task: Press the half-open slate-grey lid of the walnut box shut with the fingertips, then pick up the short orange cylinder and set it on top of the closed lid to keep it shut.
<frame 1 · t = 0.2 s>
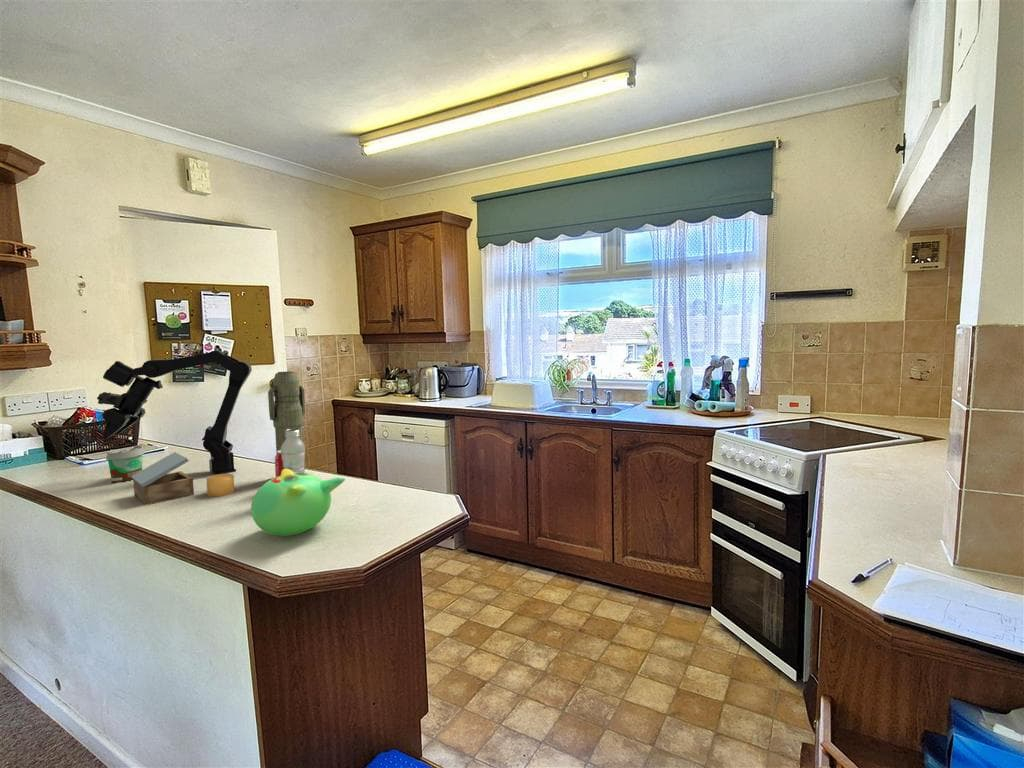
hand: (110, 436, 162), 15 cm above the table, tool tilted 30°, fingers open, 9 cm apart
walnut box: (164, 495, 148), on the table
plastic bottle: (295, 499, 143), on the table
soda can: (289, 489, 153), on the table
headless coat mannequin: (291, 478, 165), on the table
green toy creature: (295, 532, 119), on the table
food container: (132, 479, 166), on the table
lid: (159, 468, 147), point 8 cm above the table, hinge at 25.0°
short orange cylinder: (221, 493, 150), on the table
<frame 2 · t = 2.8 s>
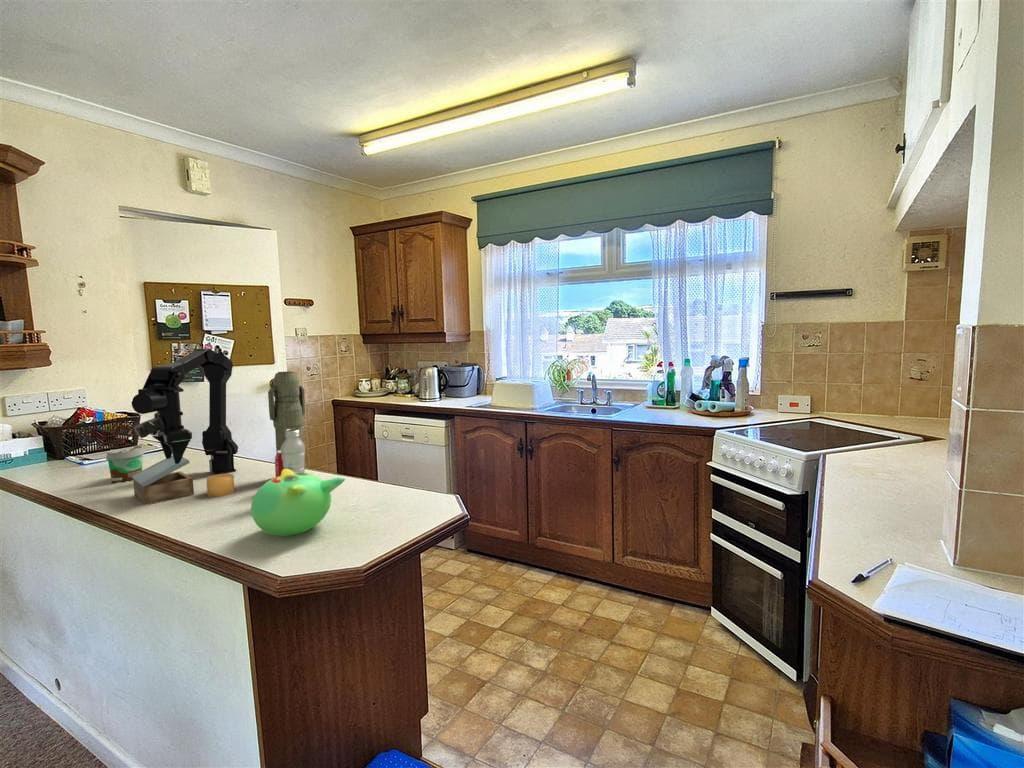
hand: (172, 460, 149), 10 cm above the table, tool pointing down
lid: (160, 469, 147), point 8 cm above the table, hinge at 22.2°, touching gripper
everything else where it was.
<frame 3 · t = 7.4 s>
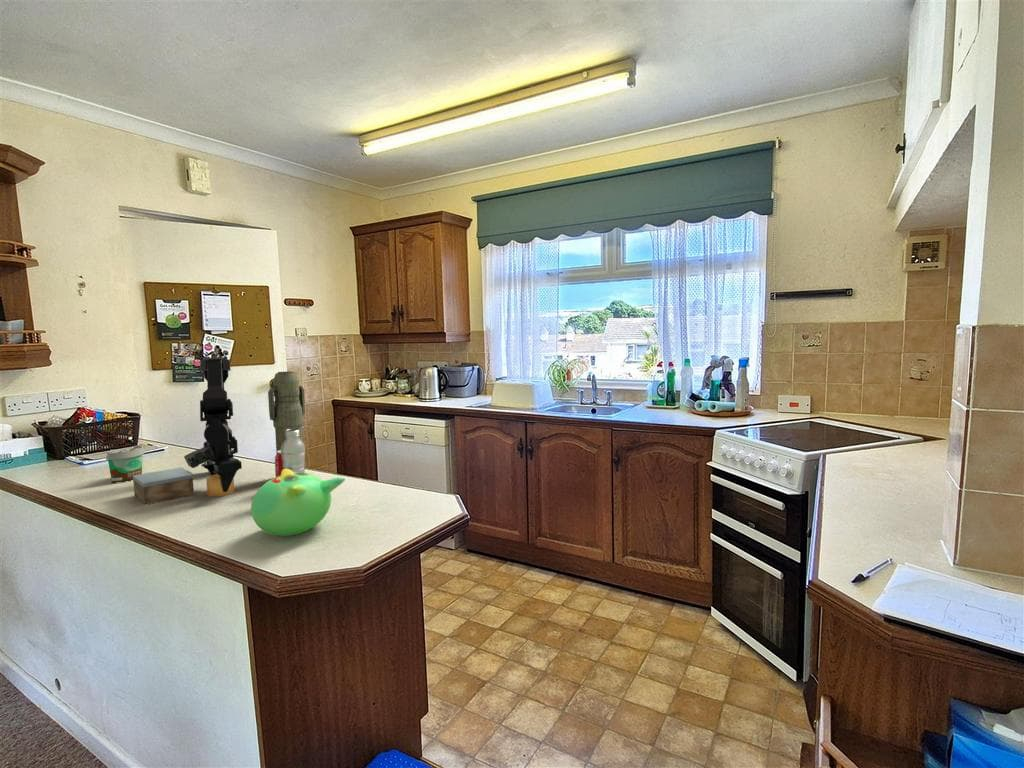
hand: (220, 489, 150), 1 cm above the table, tool pointing down, fingers closed on short orange cylinder, 7 cm apart
lid: (163, 476, 147), point 6 cm above the table, hinge at 0.3°
short orange cylinder: (221, 492, 150), on the table, touching gripper
everything else where it was.
when the fingers open (9 cm above the table, at t = 11.2 s): short orange cylinder drops 1 cm, resting on lid.
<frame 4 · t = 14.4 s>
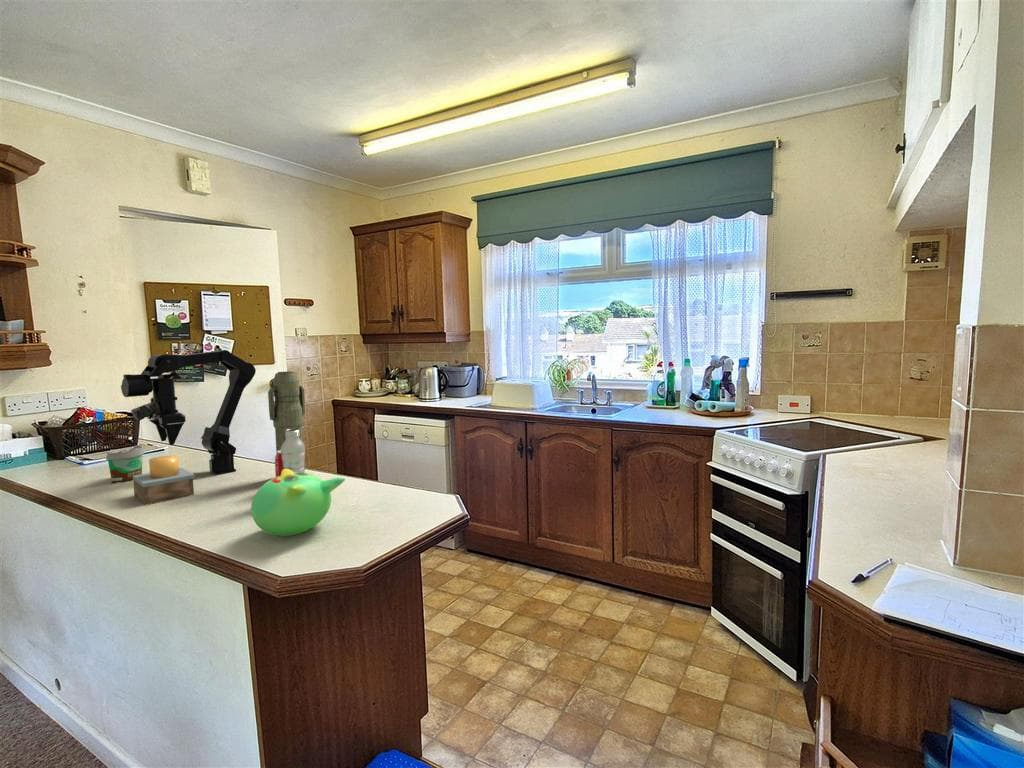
hand: (167, 442, 160), 13 cm above the table, tool pointing down, fingers open, 9 cm apart
lid: (163, 476, 147), point 6 cm above the table, hinge at -0.5°, touching short orange cylinder, walnut box
short orange cylinder: (164, 475, 148), point 6 cm above the table, touching lid
everything else where it was.
at the end: lid at +0° (first picture: +25°); short orange cylinder inside the target area (0.5 cm from its centre), point 6.0 cm above the table; short orange cylinder touching lid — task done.
